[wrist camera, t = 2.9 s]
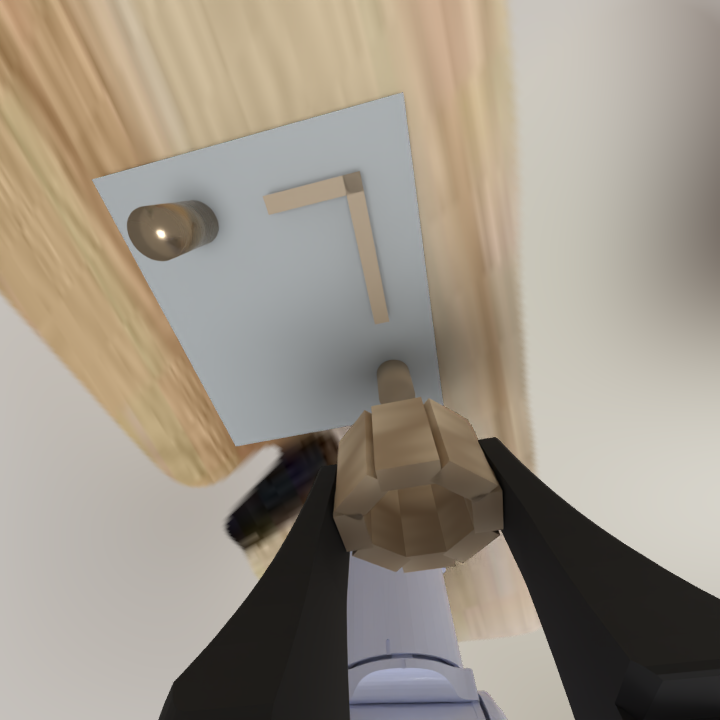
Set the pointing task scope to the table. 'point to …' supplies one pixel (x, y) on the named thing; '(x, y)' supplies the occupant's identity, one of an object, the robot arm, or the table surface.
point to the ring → (415, 488)
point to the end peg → (171, 228)
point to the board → (297, 271)
